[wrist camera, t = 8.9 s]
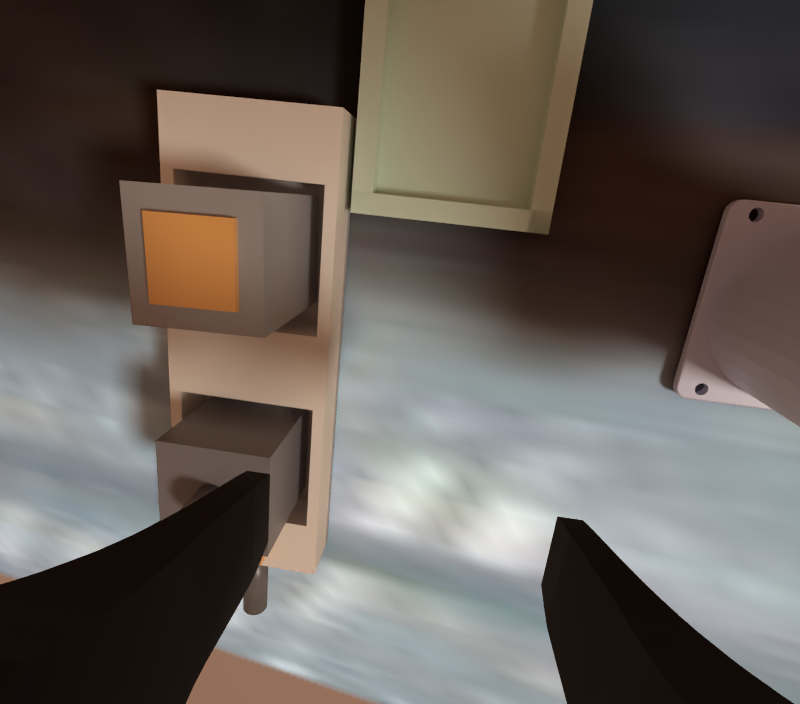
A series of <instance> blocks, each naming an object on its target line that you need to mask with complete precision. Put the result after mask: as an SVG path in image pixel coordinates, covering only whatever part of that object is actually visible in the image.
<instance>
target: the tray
mask: <svg viewBox="0 0 800 704" xmlns="http://www.w3.org/2000/svg"><path fill="white" fill-rule="evenodd" d="M592 5H593V0H365V11H364V25H363V39H362V54H361V68H360V82H359V97H358V111H357V125H356V139H355V154H354V168H353V182H352V196H351V211H350V212H351V213H360V214H369V215H378V216H387V217H395V218H404V219H413V220H422V221H431V222H440V223H449V224H458V225H467V226H476V227H485V228H494V229H503V230H512V231H521V232H530V233H539V234H549V229H550V224H551V218H552V213H553V208H554V203H555V198H556V192H557V187H558V182H559V177H560V171H561V166H562V161H563V156H564V151H565V145H566V140H567V135H568V130H569V124H570V119H571V114H572V109H573V104H574V98H575V93H576V88H577V83H578V78H579V72H580V67H581V62H582V57H583V51H584V46H585V41H586V36H587V31H588V25H589V20H590V15H591V10H592Z"/></svg>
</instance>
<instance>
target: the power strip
mask: <svg viewBox="0 0 800 704" xmlns="http://www.w3.org/2000/svg"><path fill="white" fill-rule="evenodd" d="M157 105H158V128H159V151H160V174H161V184H174V185H186V186H199V187H212V188H225V189H237V190H250V191H262V192H275V193H288V194H300V195H313V196H319V220H318V261H317V302H316V303H315V304H313V305H312V306H310V307H309V308H307V309H306V310H304V311H303V312H301V313H300V314H299V315H297V316H296V317H294V318H293V319H291V320H290V321H288V322H287V323H286V324H284V325H283V326H281V327H280V328H278V329H277V330H275V331H274V332H272V333H271V334H270V335H268V336H267V337H265V338H259V337H249V336H240V335H230V334H221V333H211V332H202V331H192V330H183V329H173V328H167V337H168V360H169V383H170V406H171V428H173V427H174V426H175V425H177V424H178V423H179V422H180V421H182V420H183V419H184V418H185V417H187V416H188V415H189V414H191V413H192V412H193V411H194V410H196V409H197V408H198V407H200V406H201V405H202V404H203V403H205V402H206V401H207V400H209V399H210V398H211V397H212V396H216V397H223V398H230V399H237V400H244V401H251V402H258V403H265V404H272V405H279V406H286V407H293V408H300V409H307V410H309V423H308V443H307V462H306V482H305V488H304V490H303V492H302V493H301V495H300V497H299V499H298V501H297V503H296V505H295V507H294V508H293V510H292V512H291V514H290V516H289V518H288V520H287V521H286V523H285V525H284V527H283V529H282V531H281V533H280V535H279V536H278V538H277V540H276V542H275V544H274V546H273V548H272V549H271V551H270V553H269V555H268V557H265V556H262V559H261V561H260V564H259V566H258V568H257V571H256V573H255V575H254V578H253V580H252V582H251V583H250V585H249V587H248V589H247V591H246V592H245V594H244V596H243V609H244V611H245V612H246V613H247V614H249V615H257V614H260V613H262V612H263V611H264V610H265V609H266V607H267V587H268V567H274V568H280V569H286V570H292V571H298V572H304V573H310V574H315V571H316V569H317V566H318V563H319V561H320V558H321V556H322V553H323V550H324V548H325V545H326V543H327V537H328V523H329V508H330V494H331V480H332V465H333V451H334V437H335V423H336V408H337V394H338V380H339V365H340V351H341V337H342V323H343V308H344V294H345V280H346V265H347V251H348V237H349V222H350V208H351V194H352V180H353V165H354V151H355V137H356V122H357V119H356V118H355V117H353V116H352V115H351V114H350V113H349V112H348V111H347V110H346V109H344V108H343V107H334V106H323V105H313V104H302V103H292V102H281V101H271V100H260V99H250V98H239V97H229V96H218V95H208V94H197V93H187V92H176V91H166V90H157Z"/></svg>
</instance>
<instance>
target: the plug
mask: <svg viewBox="0 0 800 704" xmlns="http://www.w3.org/2000/svg"><path fill="white" fill-rule="evenodd" d="M119 183H120V193H121V204H122V215H123V226H124V237H125V247H126V258H127V269H128V280H129V291H130V301H131V312H132V323H133V324H135V325H145V326H154V327H164V328H173V329H183V330H192V331H202V332H211V333H221V334H230V335H240V336H249V337H259V338H265V337H267V336H268V335H270V334H271V333H272V332H274V331H275V330H277V329H278V328H280V327H281V326H283V325H284V324H286V323H287V322H288V321H290V320H291V319H293V318H294V317H296V316H297V315H299V314H300V313H301V312H303V311H304V310H306V309H307V308H309V307H310V306H312V305H313V304H315V303H316V302H317V261H318V220H319V196H313V195H300V194H288V193H275V192H262V191H250V190H237V189H225V188H212V187H199V186H186V185H174V184H161V183H148V182H135V181H123V180H119Z"/></svg>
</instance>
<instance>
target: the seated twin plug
mask: <svg viewBox="0 0 800 704" xmlns="http://www.w3.org/2000/svg"><path fill="white" fill-rule="evenodd" d="M308 423H309V410H307V409H300V408H293V407H286V406H279V405H272V404H265V403H258V402H251V401H244V400H237V399H230V398H223V397H216V396H212V397H211V398H210V399H209V400H207V401H206V402H205V403H203V404H202V405H201V406H200V407H198V408H197V409H196V410H194V411H193V412H192V413H191V414H189V415H188V416H187V417H185V418H184V419H183V420H182V421H180V422H179V423H178V424H177V425H175V426H174V427H173V428H171V429H170V430H169V431H168V432H166V433H165V434H164V435H162V436H161V437H160V438H159V439H157V440H156V455H157V473H158V491H159V510H160V521H161V520H163V519H165V518H166V517H168V516H170V515H172V514H174V513H176V512H178V511H179V510H181V509H183V508H185V507H187V506H188V505H190V504H192V503H193V502H195V501H197V500H198V499H200V498H202V497H203V496H205V495H207V494H208V493H210V492H212V491H213V490H215V489H217V488H218V487H220V486H222V485H223V484H225V483H226V482H228V481H230V480H231V479H233V478H235V477H236V476H238V475H240V474H242V473H244V472H245V471H253V472H259V473H266V474H270V498H269V534H268V544H267V546H266V549H265V551H264V554H263V556H265V557H268V555H269V553H270V551H271V549H272V548H273V546H274V544H275V542H276V540H277V538H278V536H279V535H280V533H281V531H282V529H283V527H284V525H285V523H286V521H287V520H288V518H289V516H290V514H291V512H292V510H293V508H294V507H295V505H296V503H297V501H298V499H299V497H300V495H301V493H302V492H303V490H304V488H305V482H306V462H307V443H308Z"/></svg>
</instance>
